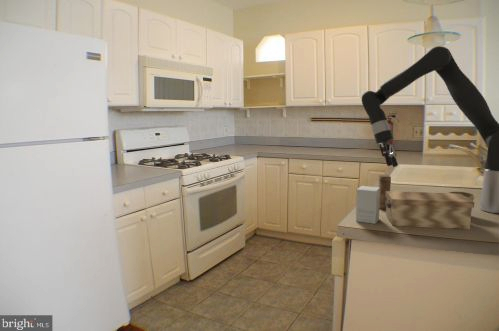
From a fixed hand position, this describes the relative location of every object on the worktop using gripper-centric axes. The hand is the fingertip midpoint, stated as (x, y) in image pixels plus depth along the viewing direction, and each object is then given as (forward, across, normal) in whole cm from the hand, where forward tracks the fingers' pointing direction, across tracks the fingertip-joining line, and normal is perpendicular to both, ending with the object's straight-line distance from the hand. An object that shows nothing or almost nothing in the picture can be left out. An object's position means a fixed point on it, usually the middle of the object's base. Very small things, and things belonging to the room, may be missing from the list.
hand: (393, 166), depth 162 cm
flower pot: (+27, -1, -19) cm, 33 cm away
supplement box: (+21, -29, +8) cm, 37 cm away
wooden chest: (+25, -15, -8) cm, 30 cm away
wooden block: (+17, -8, +7) cm, 20 cm away
